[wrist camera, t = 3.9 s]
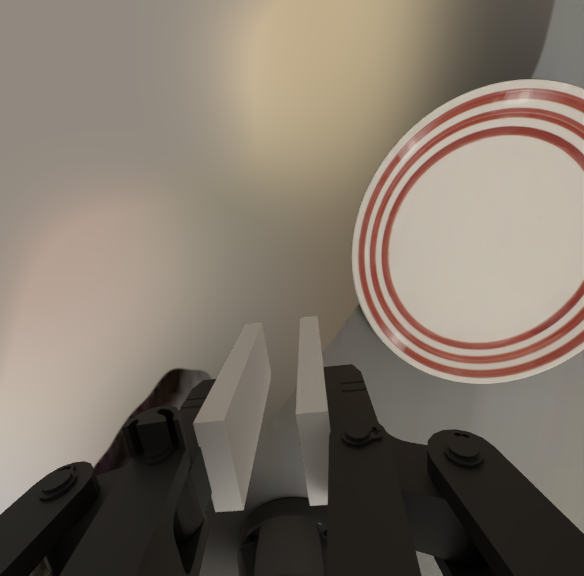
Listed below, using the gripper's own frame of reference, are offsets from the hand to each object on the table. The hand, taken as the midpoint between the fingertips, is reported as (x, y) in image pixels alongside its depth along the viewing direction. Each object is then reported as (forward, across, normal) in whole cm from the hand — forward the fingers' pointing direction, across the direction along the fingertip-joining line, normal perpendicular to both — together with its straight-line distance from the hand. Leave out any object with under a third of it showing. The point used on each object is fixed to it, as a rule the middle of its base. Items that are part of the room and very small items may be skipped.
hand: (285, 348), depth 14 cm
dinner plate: (+19, -19, 0) cm, 27 cm away
